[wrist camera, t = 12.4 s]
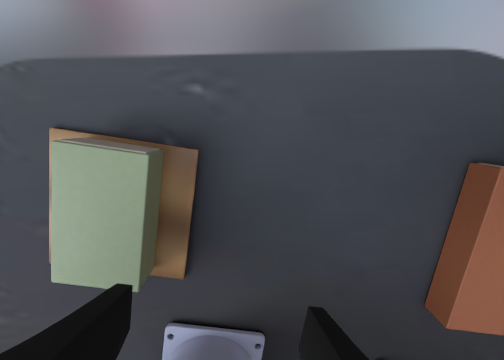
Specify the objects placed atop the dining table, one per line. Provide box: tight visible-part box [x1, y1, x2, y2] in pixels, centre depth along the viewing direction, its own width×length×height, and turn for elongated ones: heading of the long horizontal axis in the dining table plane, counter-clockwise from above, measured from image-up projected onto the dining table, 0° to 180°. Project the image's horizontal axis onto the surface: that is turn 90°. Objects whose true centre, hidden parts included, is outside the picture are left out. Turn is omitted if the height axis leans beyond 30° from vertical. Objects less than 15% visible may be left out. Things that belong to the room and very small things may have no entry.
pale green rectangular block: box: [51, 137, 164, 292], centre depth 18 cm, size 9×6×3 cm, turn 171°
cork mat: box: [49, 128, 199, 279], centre depth 19 cm, size 10×10×1 cm
